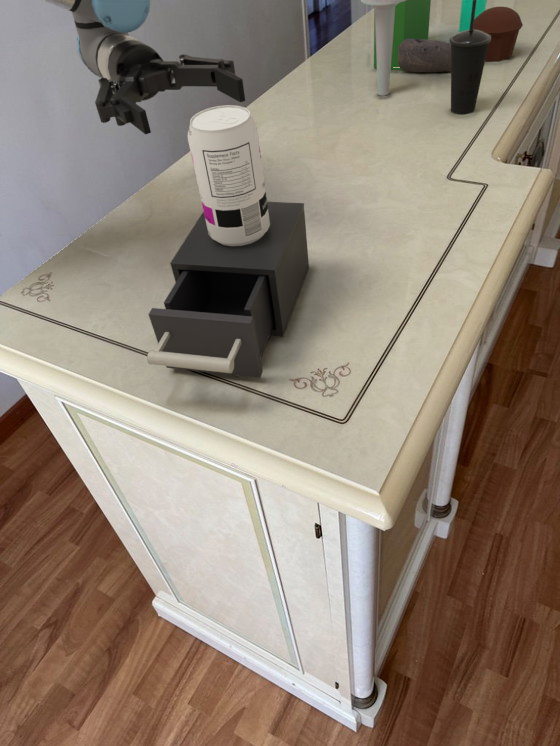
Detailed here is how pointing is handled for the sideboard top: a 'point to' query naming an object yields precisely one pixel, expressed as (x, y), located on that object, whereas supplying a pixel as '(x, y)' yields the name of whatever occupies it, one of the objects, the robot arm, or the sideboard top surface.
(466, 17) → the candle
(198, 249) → the drawer cabinet
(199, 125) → the supplement can
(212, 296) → the open drawer with handle
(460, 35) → the drinking cup
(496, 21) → the muffin
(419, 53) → the perforated stone tool
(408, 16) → the hardback book
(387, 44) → the novelty light stick
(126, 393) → the sideboard top surface
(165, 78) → the robot arm
